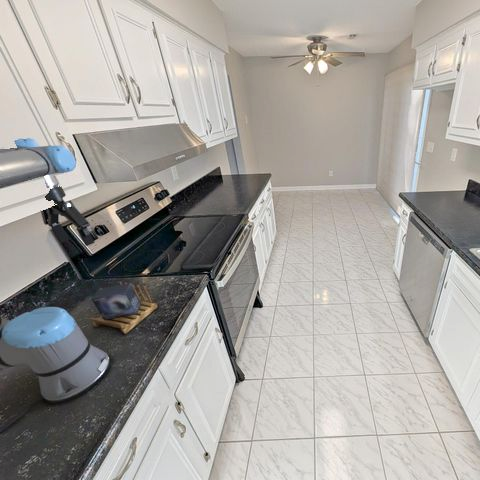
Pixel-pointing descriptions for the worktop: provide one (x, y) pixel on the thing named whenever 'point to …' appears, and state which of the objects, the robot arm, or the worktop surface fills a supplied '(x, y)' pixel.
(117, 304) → the small box
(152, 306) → the dish rack
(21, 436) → the worktop surface
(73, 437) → the worktop surface
